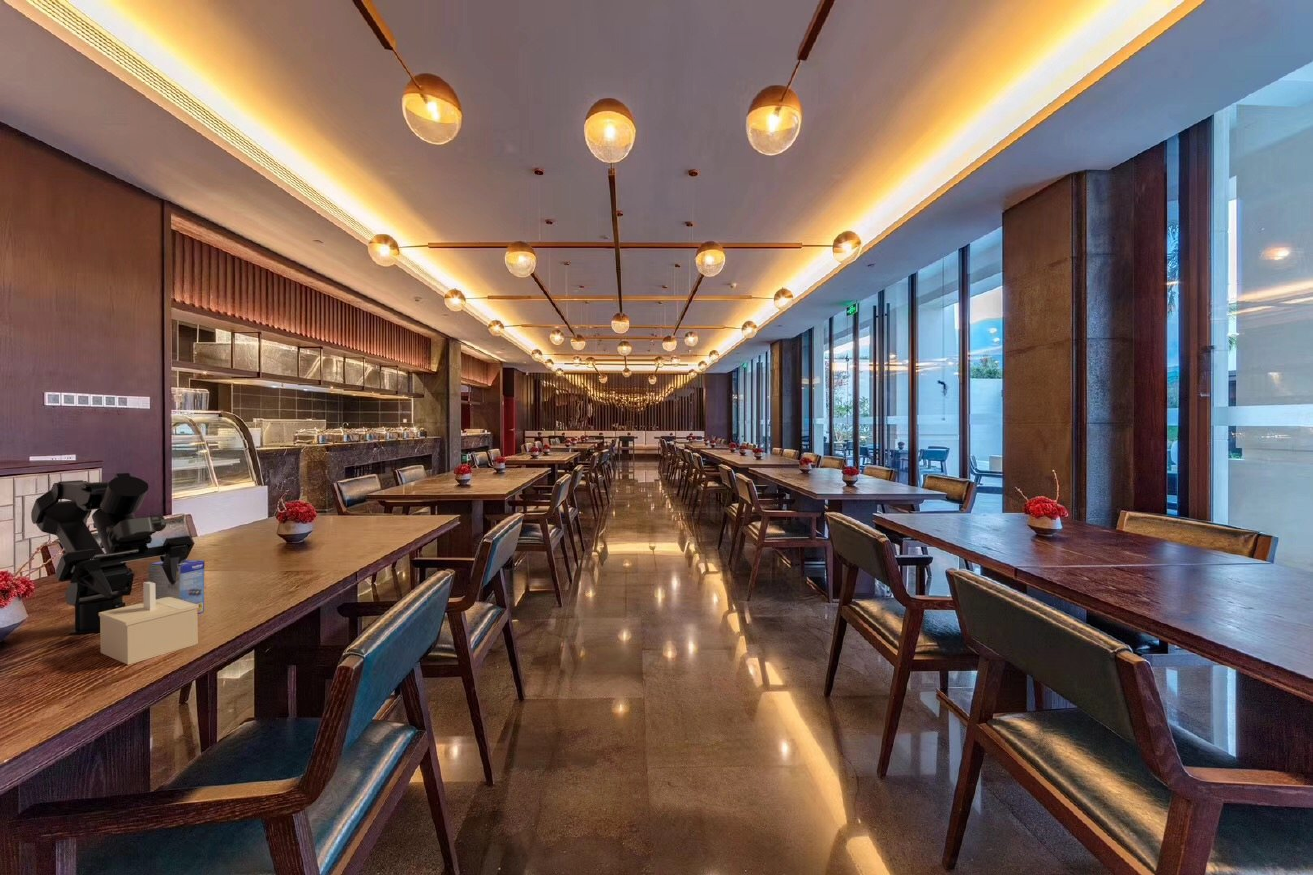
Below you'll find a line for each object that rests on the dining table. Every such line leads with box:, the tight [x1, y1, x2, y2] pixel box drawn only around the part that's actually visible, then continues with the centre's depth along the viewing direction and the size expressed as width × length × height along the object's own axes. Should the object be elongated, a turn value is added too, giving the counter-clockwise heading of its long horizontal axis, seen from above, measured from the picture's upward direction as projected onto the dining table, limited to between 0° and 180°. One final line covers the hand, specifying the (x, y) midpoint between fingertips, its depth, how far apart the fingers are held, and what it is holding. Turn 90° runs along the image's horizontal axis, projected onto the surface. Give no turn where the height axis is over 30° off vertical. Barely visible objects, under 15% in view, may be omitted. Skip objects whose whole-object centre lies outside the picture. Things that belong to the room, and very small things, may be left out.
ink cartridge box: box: [147, 559, 206, 615], centre depth 117 cm, size 10×6×14 cm, turn 78°
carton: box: [99, 608, 199, 665], centre depth 98 cm, size 12×10×7 cm
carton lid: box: [99, 581, 199, 626], centre depth 98 cm, size 12×10×6 cm
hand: (143, 589), depth 99 cm, fingers open, 9 cm apart
